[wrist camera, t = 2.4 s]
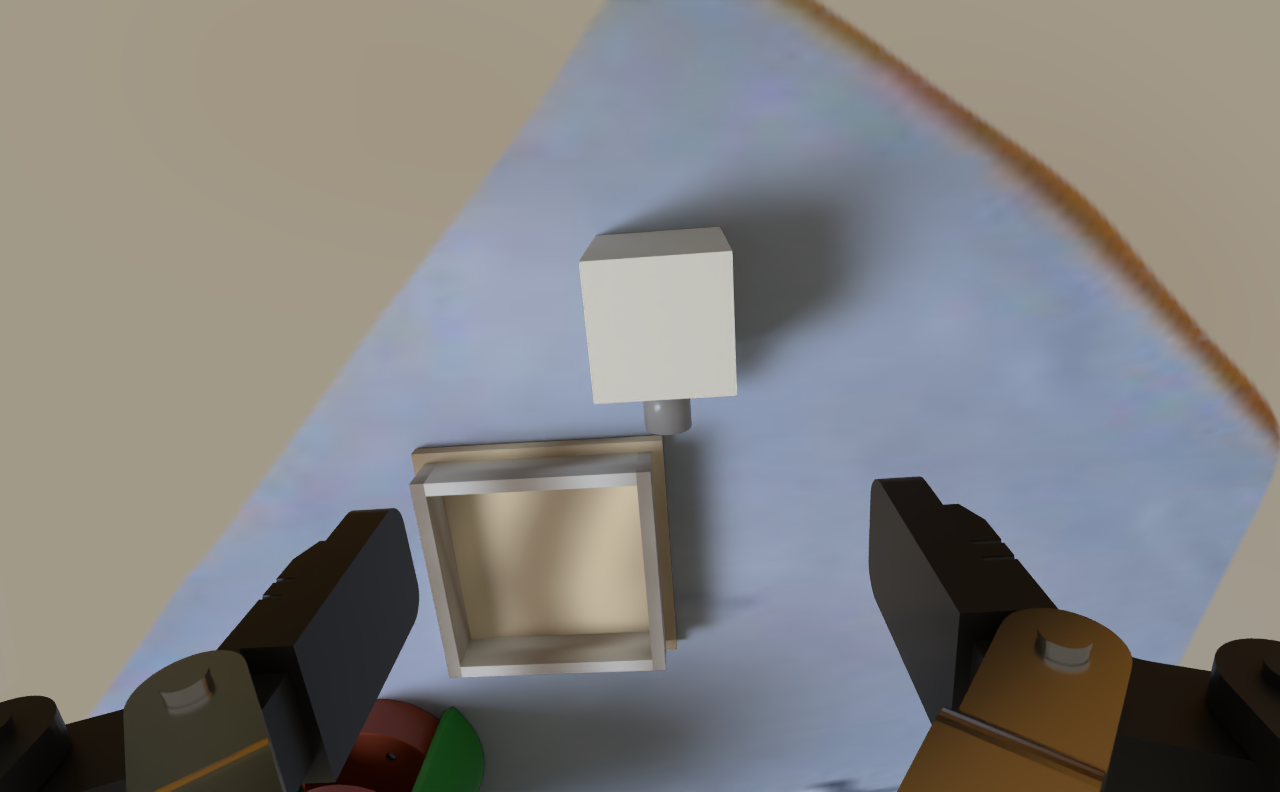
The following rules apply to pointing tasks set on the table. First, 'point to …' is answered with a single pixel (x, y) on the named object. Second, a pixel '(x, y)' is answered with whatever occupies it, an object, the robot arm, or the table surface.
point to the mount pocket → (548, 555)
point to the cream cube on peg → (660, 321)
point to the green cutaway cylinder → (410, 753)
